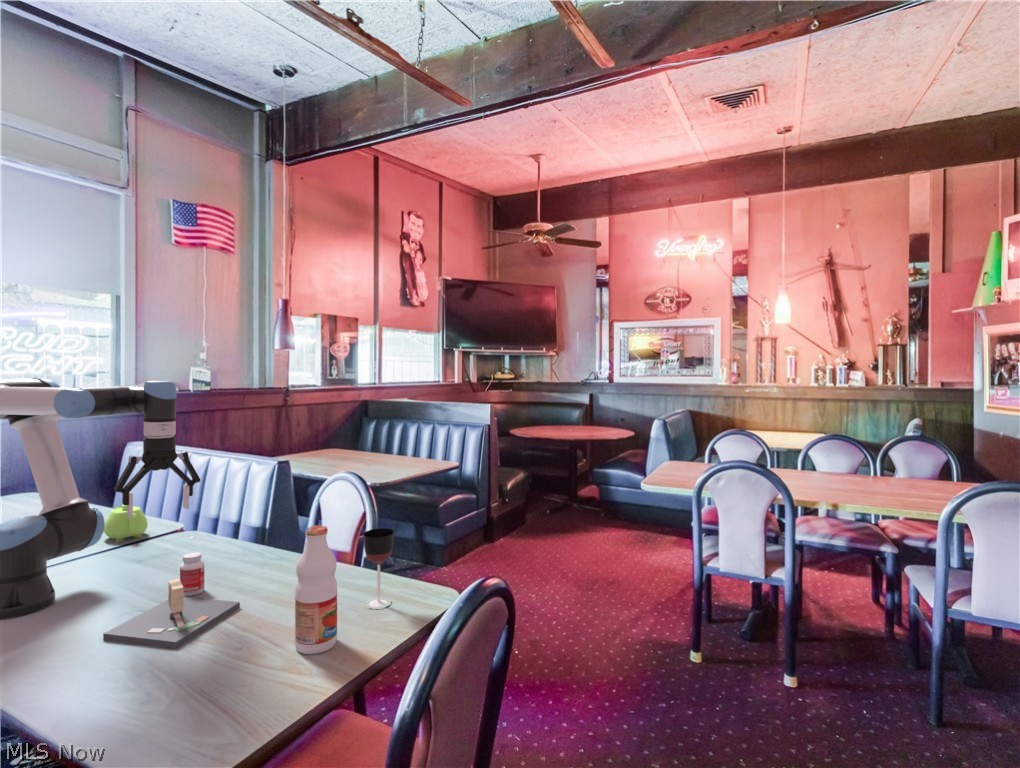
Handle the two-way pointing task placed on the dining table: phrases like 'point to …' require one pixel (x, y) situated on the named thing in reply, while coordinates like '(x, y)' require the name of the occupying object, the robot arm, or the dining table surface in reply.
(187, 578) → the pill bottle
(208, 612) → the dial board
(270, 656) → the dining table surface
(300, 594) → the fruit juice
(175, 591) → the beige boxy piece
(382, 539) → the wineglass
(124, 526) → the teapot
